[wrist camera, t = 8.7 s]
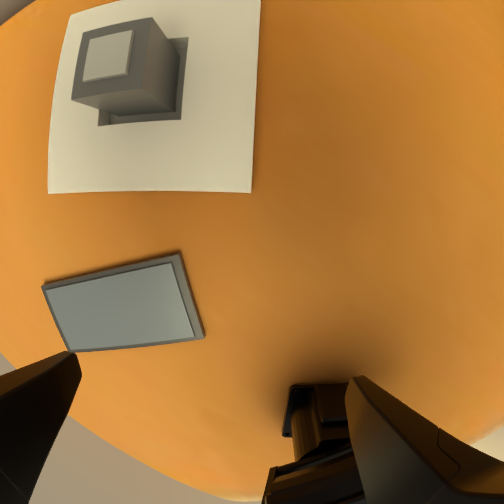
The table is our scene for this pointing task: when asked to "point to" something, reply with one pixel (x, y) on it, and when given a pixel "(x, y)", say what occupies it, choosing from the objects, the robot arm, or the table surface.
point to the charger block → (127, 69)
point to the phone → (126, 306)
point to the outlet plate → (171, 123)
